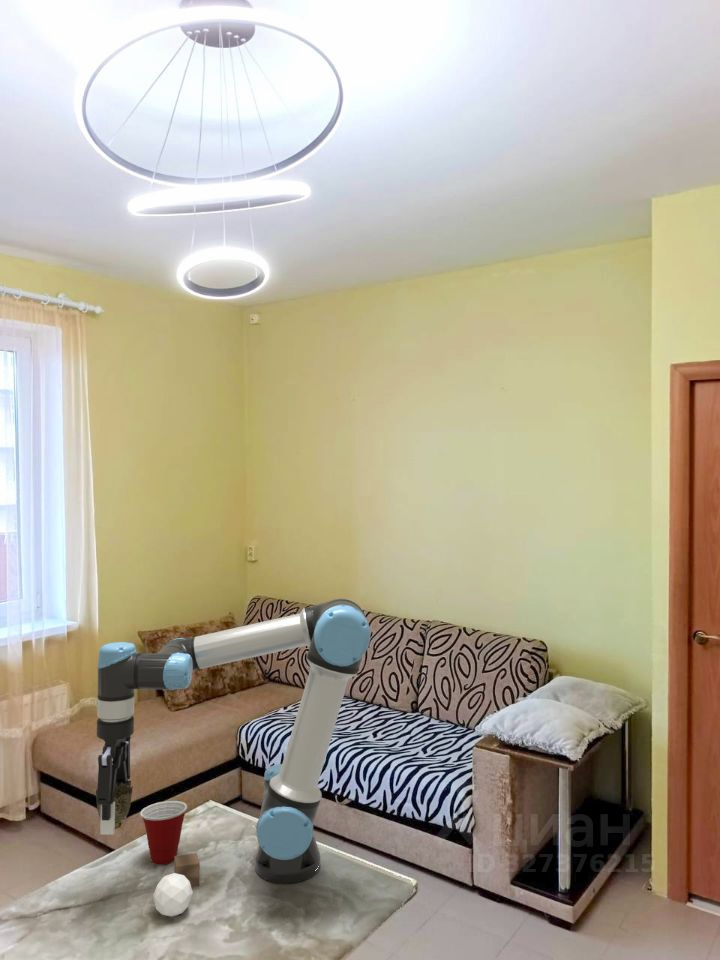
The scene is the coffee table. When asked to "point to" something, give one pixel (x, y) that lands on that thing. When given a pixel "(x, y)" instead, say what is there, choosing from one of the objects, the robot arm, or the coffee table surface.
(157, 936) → the coffee table surface
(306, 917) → the coffee table surface
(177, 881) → the geometric ball
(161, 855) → the plastic cup
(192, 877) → the walnut block
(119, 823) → the ornate bell
